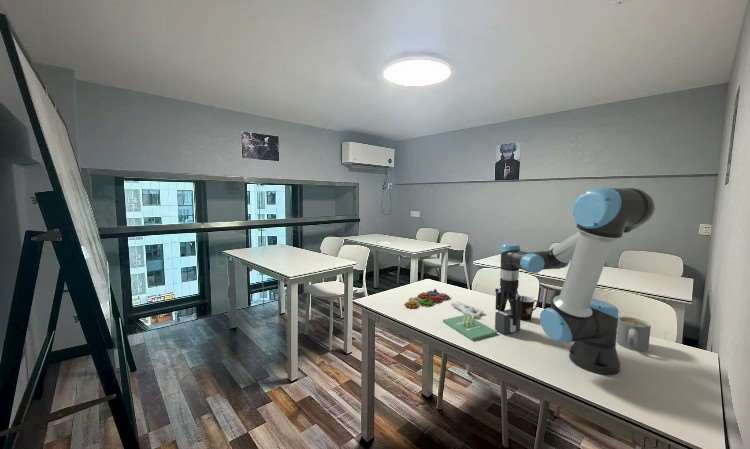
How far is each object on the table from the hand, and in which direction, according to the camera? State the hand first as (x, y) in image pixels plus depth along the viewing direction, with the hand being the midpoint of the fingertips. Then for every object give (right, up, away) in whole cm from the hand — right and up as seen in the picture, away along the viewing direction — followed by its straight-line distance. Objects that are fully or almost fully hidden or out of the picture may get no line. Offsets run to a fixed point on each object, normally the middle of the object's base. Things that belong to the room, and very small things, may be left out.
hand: (507, 328), depth 135 cm
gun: (-12, +1, +22) cm, 24 cm away
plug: (0, 0, 0) cm, 0 cm away
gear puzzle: (-31, +2, +38) cm, 49 cm away
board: (-17, -1, +3) cm, 17 cm away
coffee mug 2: (+44, -2, -14) cm, 46 cm away
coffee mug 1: (+15, 0, +13) cm, 20 cm away
